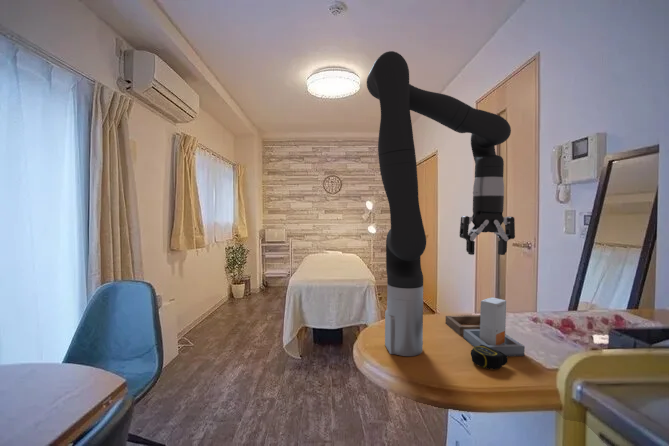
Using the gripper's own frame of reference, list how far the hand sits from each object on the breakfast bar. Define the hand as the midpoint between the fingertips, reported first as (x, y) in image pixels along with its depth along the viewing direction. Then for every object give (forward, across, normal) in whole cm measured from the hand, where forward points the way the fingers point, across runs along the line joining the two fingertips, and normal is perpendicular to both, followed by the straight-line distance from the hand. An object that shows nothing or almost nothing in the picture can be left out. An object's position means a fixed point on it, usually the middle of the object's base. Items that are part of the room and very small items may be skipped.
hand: (486, 254), depth 87 cm
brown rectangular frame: (+25, +2, +11) cm, 27 cm away
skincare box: (+24, +1, -2) cm, 24 cm away
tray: (+25, +1, -2) cm, 25 cm away
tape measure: (+25, -5, -11) cm, 28 cm away
